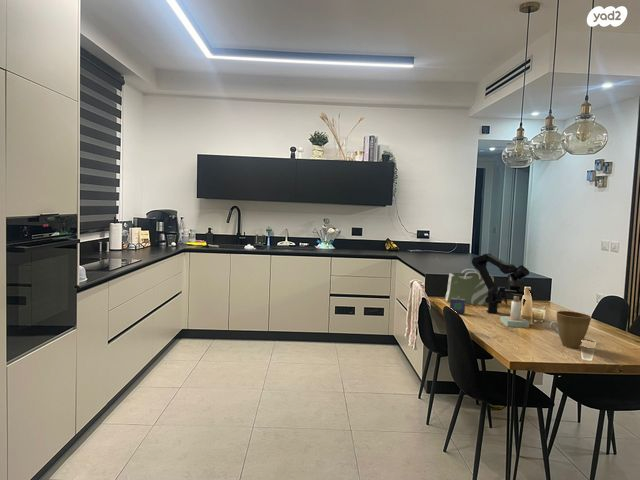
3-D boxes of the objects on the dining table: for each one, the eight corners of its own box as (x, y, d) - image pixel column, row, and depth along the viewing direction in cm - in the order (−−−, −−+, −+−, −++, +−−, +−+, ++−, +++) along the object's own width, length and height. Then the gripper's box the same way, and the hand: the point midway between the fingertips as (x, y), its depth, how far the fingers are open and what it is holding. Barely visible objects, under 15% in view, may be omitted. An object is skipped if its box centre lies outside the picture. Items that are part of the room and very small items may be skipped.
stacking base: (500, 320, 270) (500, 315, 269) (521, 322, 269) (521, 316, 269) (507, 326, 258) (507, 320, 257) (529, 327, 257) (529, 321, 257)
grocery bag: (447, 302, 314) (449, 269, 312) (444, 298, 328) (446, 266, 326) (495, 306, 310) (498, 272, 308) (491, 302, 323) (493, 269, 321)
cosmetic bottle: (508, 317, 266) (510, 295, 265) (517, 317, 265) (519, 295, 264) (511, 319, 261) (513, 296, 260) (520, 319, 261) (522, 297, 259)
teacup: (577, 336, 243) (579, 321, 243) (579, 342, 234) (581, 326, 233) (548, 332, 249) (549, 318, 249) (549, 337, 239) (550, 322, 239)
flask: (464, 313, 285) (465, 296, 284) (465, 314, 282) (466, 297, 281) (449, 312, 285) (450, 295, 284) (450, 313, 282) (451, 296, 282)
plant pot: (595, 350, 221) (598, 317, 219) (570, 351, 217) (573, 318, 215) (570, 340, 235) (573, 310, 234) (546, 341, 231) (549, 310, 229)
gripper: (499, 273, 270) (500, 295, 260) (533, 276, 266) (535, 298, 256) (496, 284, 278) (497, 306, 269) (529, 287, 274) (531, 309, 264)
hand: (515, 304), depth 264 cm, fingers open, 9 cm apart
